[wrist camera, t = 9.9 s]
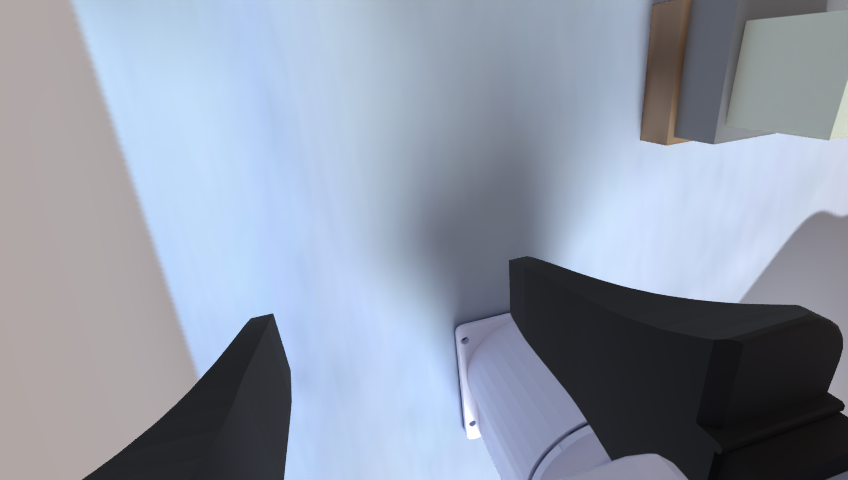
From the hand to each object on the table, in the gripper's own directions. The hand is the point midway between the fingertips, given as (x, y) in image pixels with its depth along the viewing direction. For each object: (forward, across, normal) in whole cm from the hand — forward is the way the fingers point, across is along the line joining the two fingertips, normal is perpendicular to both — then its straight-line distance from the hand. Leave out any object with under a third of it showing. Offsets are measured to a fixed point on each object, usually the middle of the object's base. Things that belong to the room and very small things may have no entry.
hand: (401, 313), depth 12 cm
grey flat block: (+8, -20, -5) cm, 23 cm away
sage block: (+6, -20, -4) cm, 21 cm away
